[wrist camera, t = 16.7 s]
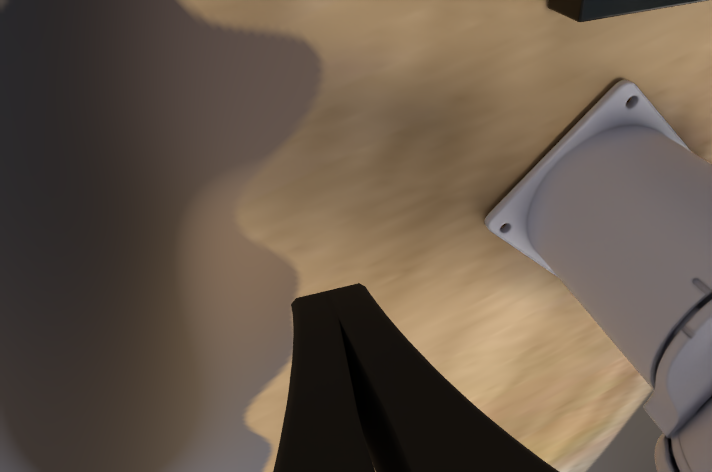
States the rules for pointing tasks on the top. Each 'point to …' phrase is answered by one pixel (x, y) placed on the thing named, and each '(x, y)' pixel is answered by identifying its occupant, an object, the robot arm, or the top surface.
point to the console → (609, 7)
